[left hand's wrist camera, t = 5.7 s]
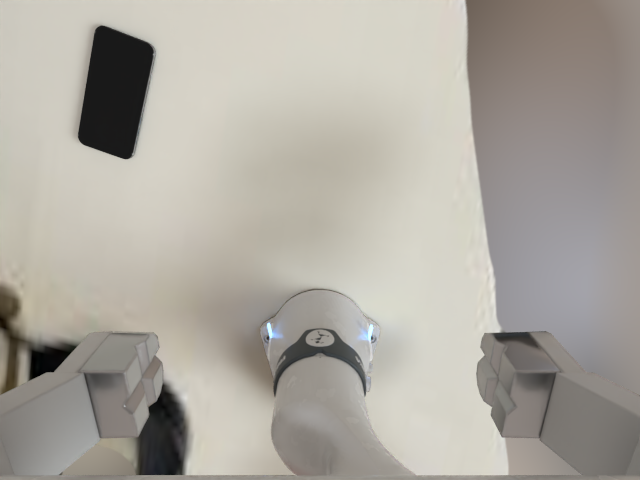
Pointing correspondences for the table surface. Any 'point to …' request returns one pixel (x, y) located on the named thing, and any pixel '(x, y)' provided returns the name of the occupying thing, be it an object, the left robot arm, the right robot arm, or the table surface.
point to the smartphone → (115, 92)
